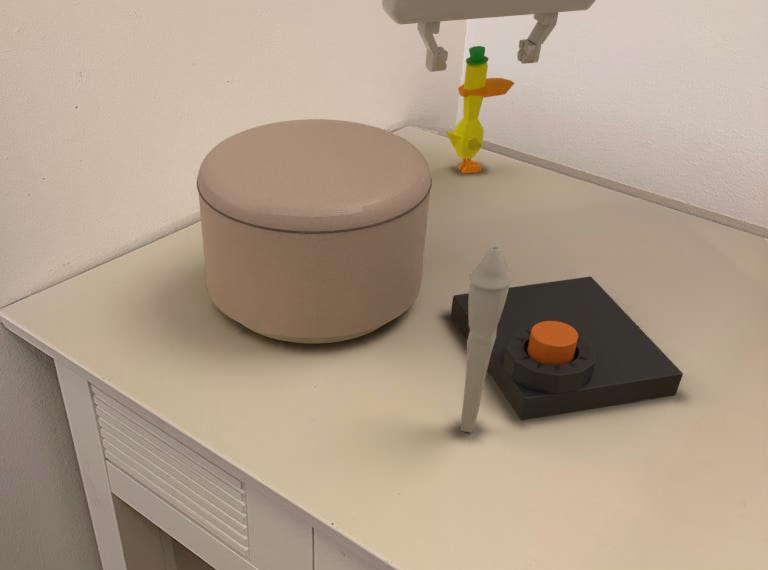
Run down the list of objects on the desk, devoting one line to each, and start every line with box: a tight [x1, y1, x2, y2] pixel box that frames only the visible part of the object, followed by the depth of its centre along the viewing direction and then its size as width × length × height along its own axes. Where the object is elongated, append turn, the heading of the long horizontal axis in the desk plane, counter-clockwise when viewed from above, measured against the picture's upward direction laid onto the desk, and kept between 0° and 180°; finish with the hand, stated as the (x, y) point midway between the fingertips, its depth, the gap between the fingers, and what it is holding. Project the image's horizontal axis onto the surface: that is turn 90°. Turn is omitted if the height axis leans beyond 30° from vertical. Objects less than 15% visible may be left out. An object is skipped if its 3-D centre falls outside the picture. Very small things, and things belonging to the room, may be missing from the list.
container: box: [196, 118, 433, 344], centre depth 71 cm, size 18×18×12 cm
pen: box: [460, 244, 513, 433], centre depth 57 cm, size 2×3×14 cm
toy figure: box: [445, 45, 515, 174], centre depth 89 cm, size 7×4×12 cm, turn 106°
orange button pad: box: [450, 276, 684, 420], centre depth 67 cm, size 12×14×4 cm
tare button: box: [527, 321, 578, 365], centre depth 62 cm, size 3×3×2 cm
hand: (481, 65), depth 85 cm, fingers open, 8 cm apart
